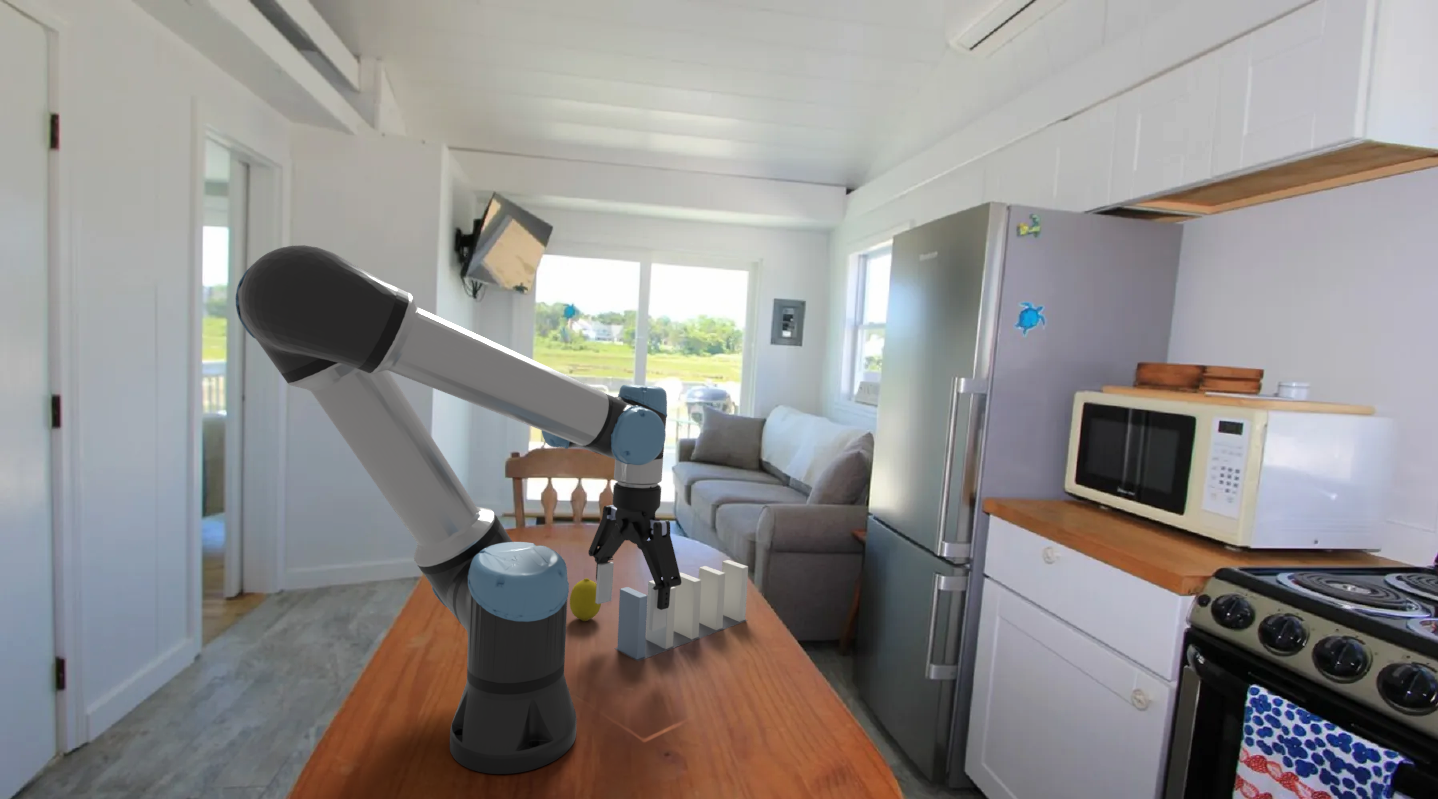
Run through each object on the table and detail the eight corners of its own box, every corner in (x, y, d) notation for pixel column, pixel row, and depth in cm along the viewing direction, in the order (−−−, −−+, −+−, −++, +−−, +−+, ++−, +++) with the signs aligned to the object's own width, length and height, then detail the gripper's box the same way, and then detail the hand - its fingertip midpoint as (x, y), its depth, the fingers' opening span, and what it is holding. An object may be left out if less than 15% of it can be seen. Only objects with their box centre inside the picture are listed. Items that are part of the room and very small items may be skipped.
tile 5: (739, 621, 127) (742, 568, 126) (719, 613, 130) (722, 561, 129) (745, 619, 128) (748, 566, 127) (725, 611, 131) (728, 559, 131)
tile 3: (691, 639, 118) (694, 581, 117) (672, 630, 121) (674, 574, 121) (698, 636, 119) (701, 580, 118) (678, 627, 123) (681, 572, 122)
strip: (637, 663, 109) (638, 661, 109) (614, 650, 113) (614, 648, 113) (747, 622, 128) (747, 620, 128) (724, 612, 132) (724, 610, 132)
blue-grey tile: (637, 659, 109) (639, 597, 109) (617, 648, 113) (619, 588, 112) (644, 656, 111) (647, 595, 110) (625, 646, 114) (627, 586, 113)
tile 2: (665, 649, 114) (668, 589, 113) (645, 639, 117) (648, 581, 116) (672, 646, 115) (675, 587, 114) (653, 636, 118) (655, 579, 118)
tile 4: (716, 630, 122) (719, 574, 122) (696, 621, 126) (699, 567, 125) (722, 627, 123) (725, 573, 123) (702, 619, 127) (705, 565, 126)
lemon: (606, 622, 124) (608, 579, 124) (581, 630, 120) (582, 585, 120) (588, 613, 128) (589, 571, 127) (562, 621, 124) (564, 577, 123)
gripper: (710, 495, 104) (700, 634, 105) (608, 468, 121) (601, 588, 122) (673, 500, 98) (663, 646, 100) (572, 471, 115) (564, 596, 117)
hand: (629, 614), depth 111 cm, fingers open, 13 cm apart
